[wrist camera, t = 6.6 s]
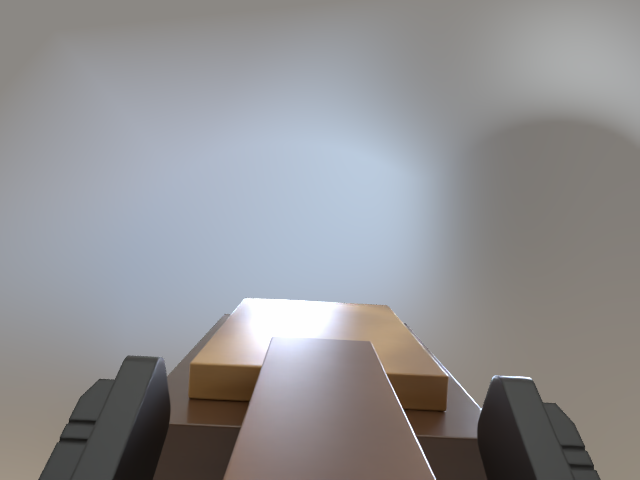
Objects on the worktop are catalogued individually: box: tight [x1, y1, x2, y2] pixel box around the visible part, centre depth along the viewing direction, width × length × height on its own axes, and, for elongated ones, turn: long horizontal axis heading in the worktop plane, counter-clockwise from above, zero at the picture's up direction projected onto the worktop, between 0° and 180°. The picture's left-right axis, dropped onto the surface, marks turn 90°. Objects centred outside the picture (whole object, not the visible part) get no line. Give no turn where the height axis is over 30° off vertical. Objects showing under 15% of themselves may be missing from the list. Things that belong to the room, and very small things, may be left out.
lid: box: [188, 298, 449, 480], centre depth 19 cm, size 8×24×2 cm, turn 1°
